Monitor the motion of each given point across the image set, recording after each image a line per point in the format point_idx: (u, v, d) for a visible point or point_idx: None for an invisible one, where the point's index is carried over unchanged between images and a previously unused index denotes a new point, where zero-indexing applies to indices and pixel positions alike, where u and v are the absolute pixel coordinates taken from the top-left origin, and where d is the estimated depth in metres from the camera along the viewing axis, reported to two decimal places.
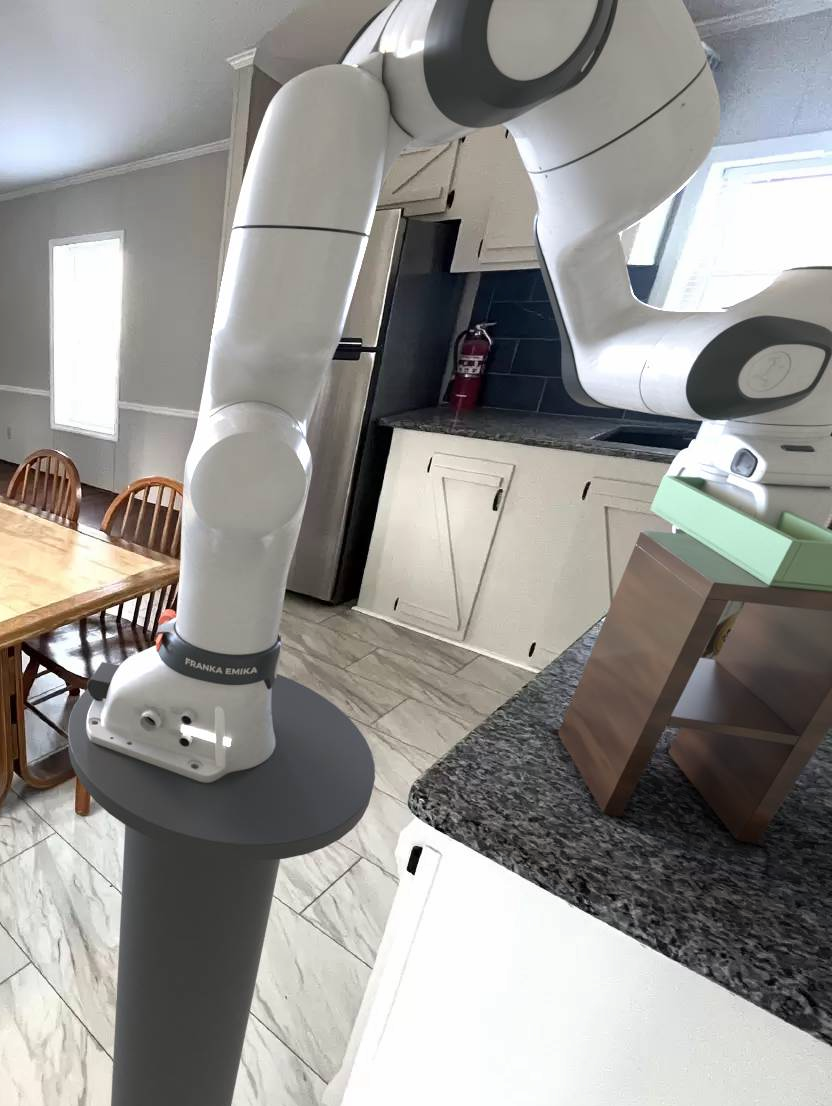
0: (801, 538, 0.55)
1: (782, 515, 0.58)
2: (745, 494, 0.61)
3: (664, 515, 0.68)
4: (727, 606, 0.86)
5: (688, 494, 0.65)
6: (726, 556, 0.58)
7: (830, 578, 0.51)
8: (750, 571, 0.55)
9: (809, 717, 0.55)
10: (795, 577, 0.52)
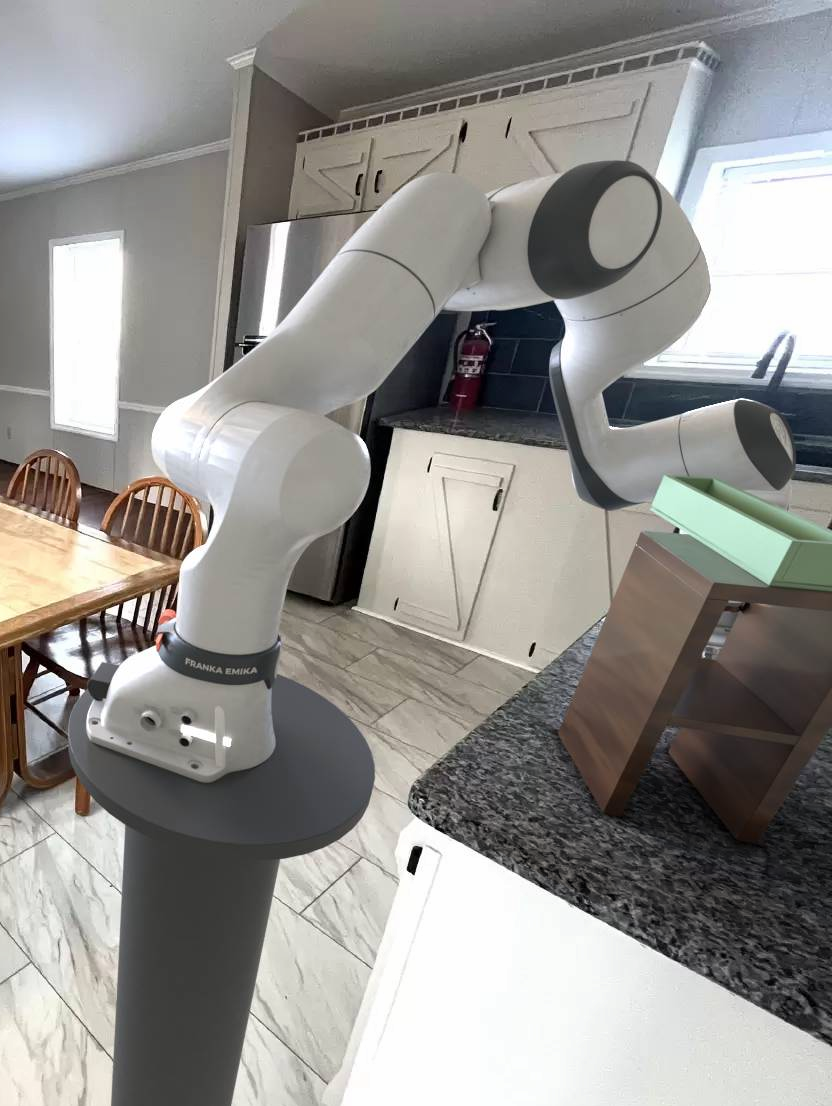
0: (801, 538, 0.55)
1: (782, 515, 0.58)
2: None
3: (664, 515, 0.68)
4: None
5: (688, 494, 0.65)
6: (726, 556, 0.58)
7: (830, 578, 0.51)
8: (750, 571, 0.55)
9: (809, 717, 0.55)
10: (795, 577, 0.52)
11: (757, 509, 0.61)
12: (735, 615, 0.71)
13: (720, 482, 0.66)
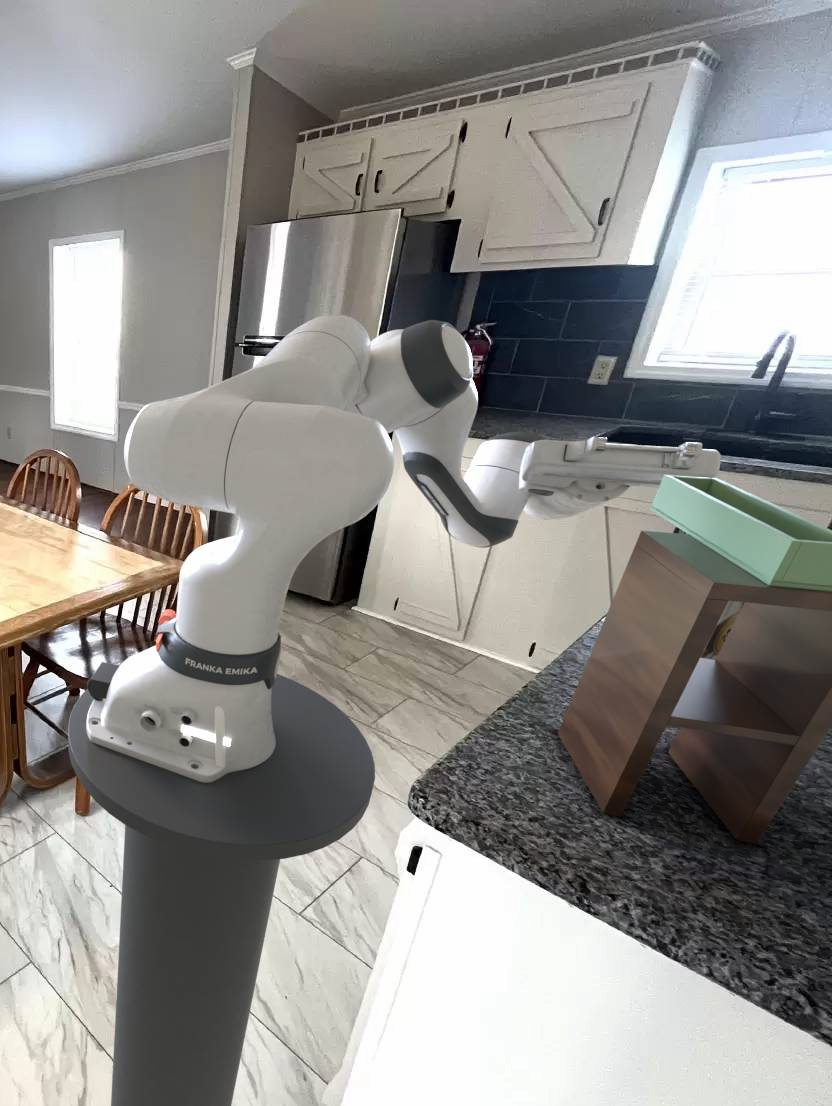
0: (801, 538, 0.55)
1: (782, 515, 0.58)
2: (555, 477, 0.91)
3: (664, 515, 0.68)
4: (727, 606, 0.86)
5: (688, 494, 0.65)
6: (726, 556, 0.58)
7: (830, 578, 0.51)
8: (750, 571, 0.55)
9: (809, 717, 0.55)
10: (795, 577, 0.52)
11: (757, 509, 0.61)
12: (646, 452, 0.83)
13: (720, 482, 0.66)
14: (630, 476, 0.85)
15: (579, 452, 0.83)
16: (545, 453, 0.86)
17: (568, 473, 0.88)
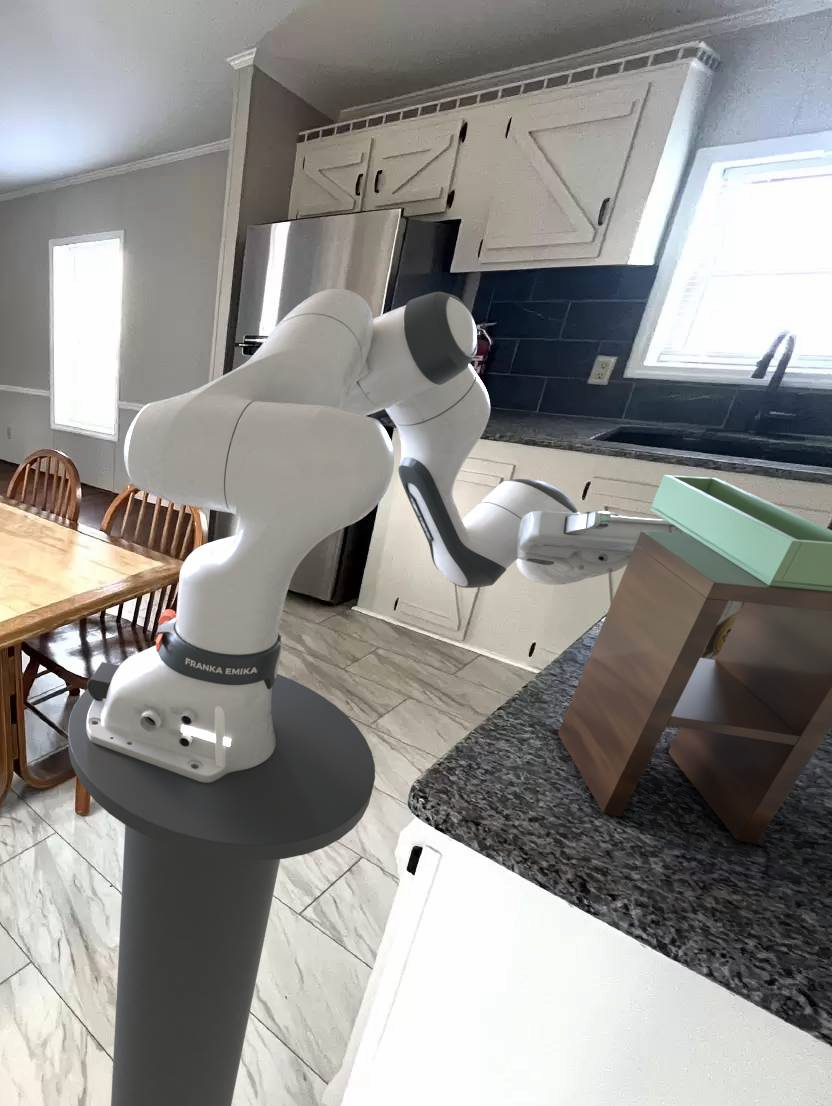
0: (801, 538, 0.55)
1: (782, 515, 0.58)
2: (555, 548, 0.86)
3: (664, 515, 0.68)
4: (727, 606, 0.86)
5: (688, 494, 0.65)
6: (726, 556, 0.58)
7: (830, 578, 0.51)
8: (750, 571, 0.55)
9: (809, 717, 0.55)
10: (795, 577, 0.52)
11: (757, 509, 0.61)
12: (651, 525, 0.79)
13: (720, 482, 0.66)
14: None
15: (581, 526, 0.78)
16: (544, 525, 0.82)
17: (569, 544, 0.83)
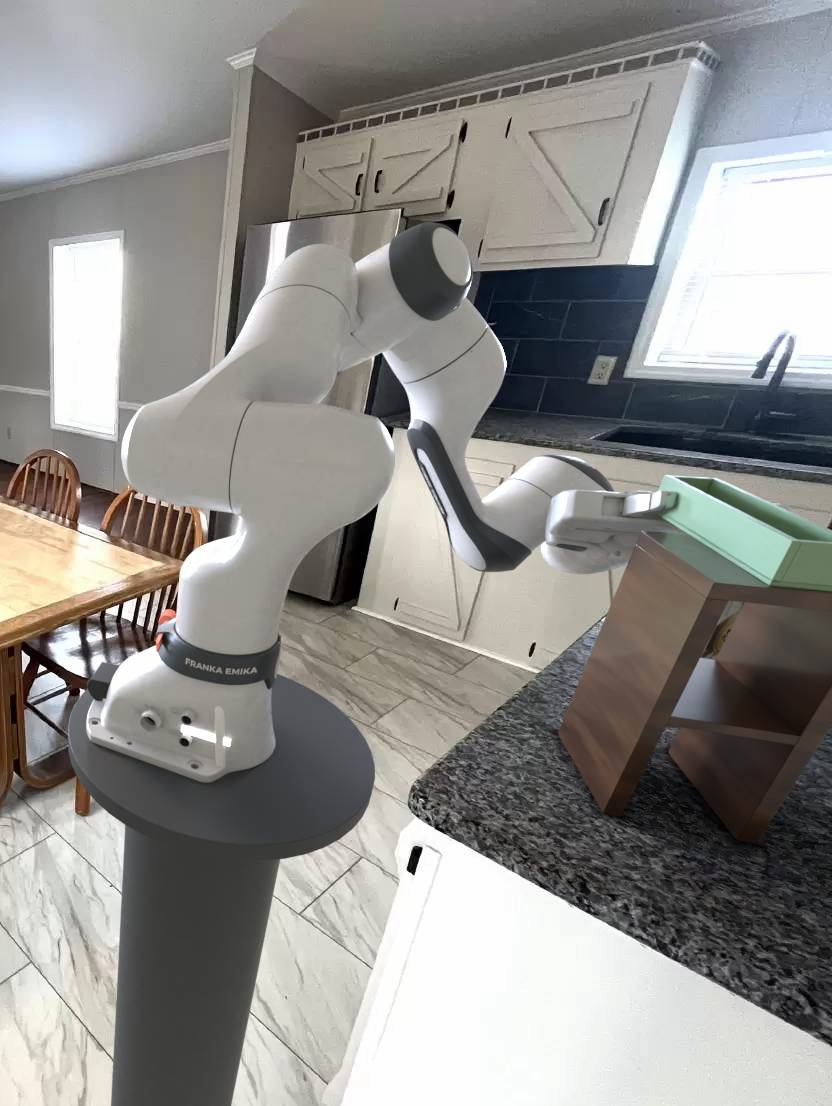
0: (801, 538, 0.55)
1: (782, 515, 0.58)
2: (590, 532, 0.77)
3: (664, 515, 0.68)
4: (727, 606, 0.86)
5: (688, 494, 0.65)
6: (726, 556, 0.58)
7: (830, 578, 0.51)
8: (750, 571, 0.55)
9: (809, 717, 0.55)
10: (795, 577, 0.52)
11: (757, 509, 0.61)
12: None
13: (721, 482, 0.66)
14: (681, 533, 0.72)
15: (643, 508, 0.69)
16: (579, 505, 0.73)
17: (605, 528, 0.75)
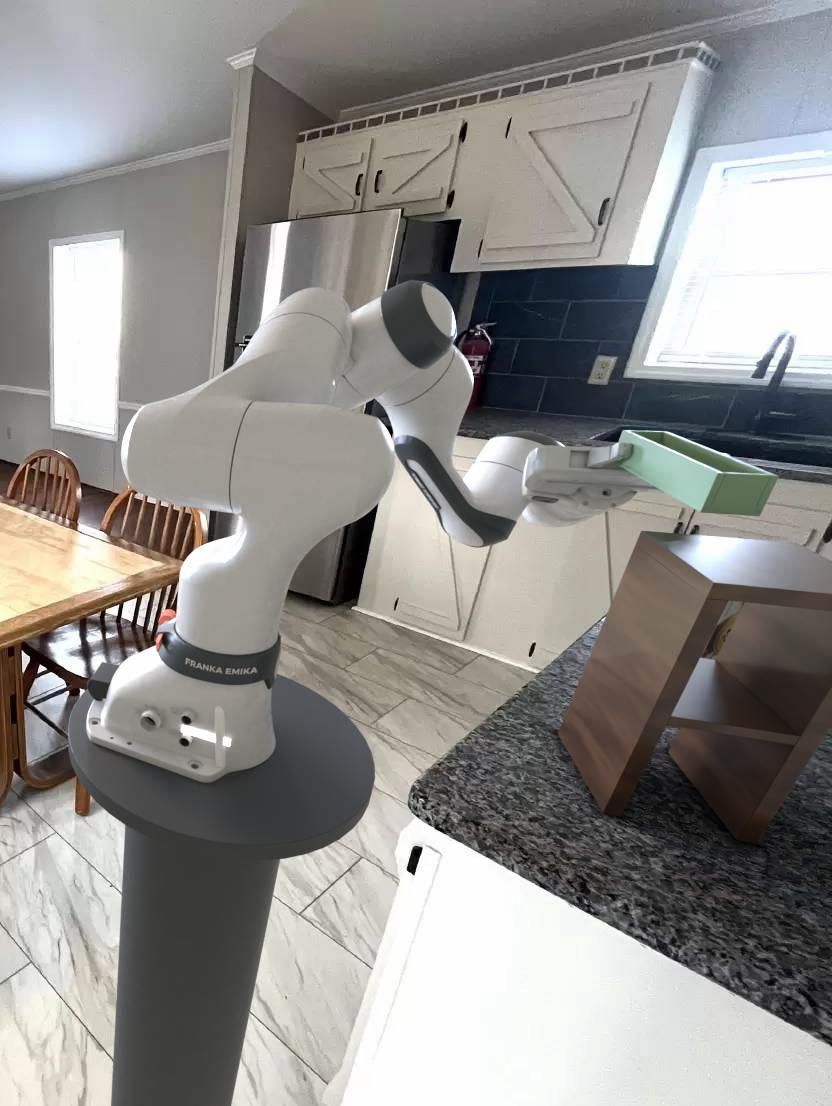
0: None
1: (716, 457, 0.68)
2: (560, 484, 0.87)
3: (622, 464, 0.78)
4: (727, 606, 0.86)
5: (641, 444, 0.75)
6: (669, 493, 0.68)
7: (749, 504, 0.61)
8: (686, 502, 0.65)
9: (809, 717, 0.55)
10: (721, 504, 0.62)
11: (698, 454, 0.71)
12: None
13: (670, 434, 0.76)
14: (638, 482, 0.82)
15: (604, 458, 0.79)
16: (549, 459, 0.83)
17: (573, 479, 0.85)
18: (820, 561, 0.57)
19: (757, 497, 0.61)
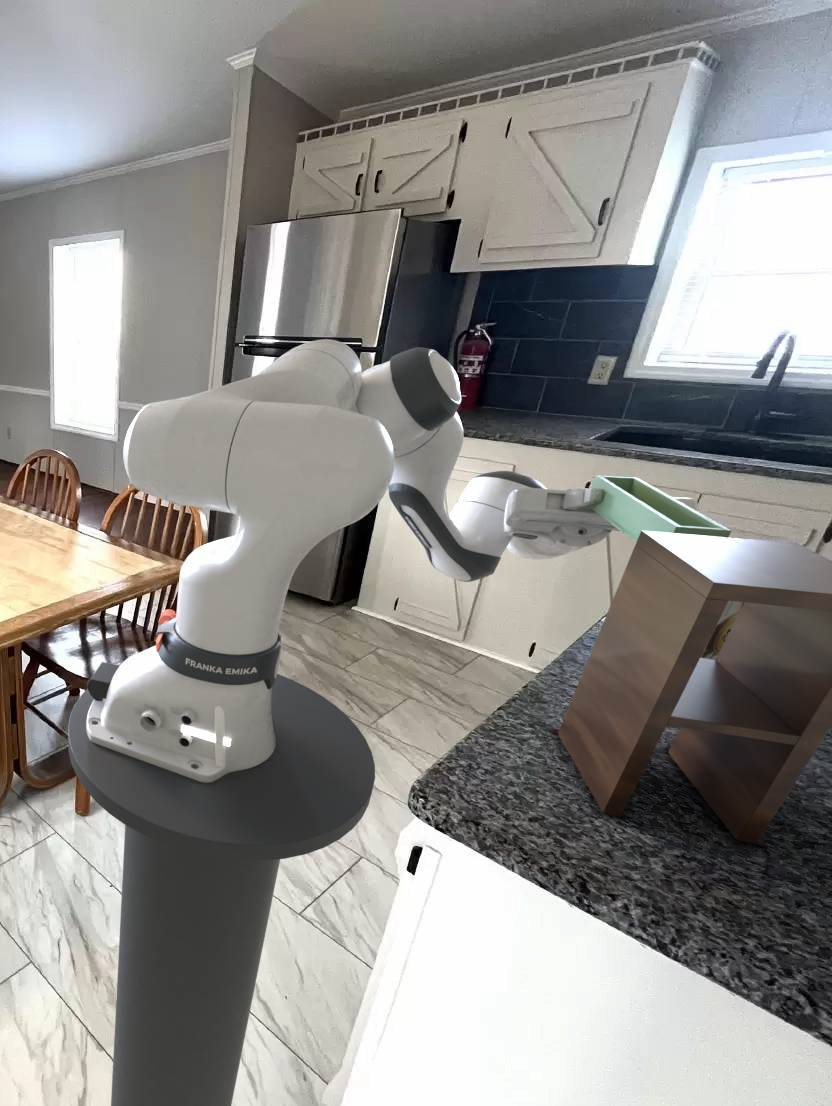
0: (689, 525, 0.70)
1: (678, 507, 0.73)
2: (539, 523, 0.92)
3: (595, 508, 0.83)
4: (727, 606, 0.86)
5: (611, 490, 0.80)
6: (635, 540, 0.73)
7: None
8: None
9: (809, 717, 0.55)
10: None
11: (662, 502, 0.76)
12: None
13: (639, 481, 0.82)
14: None
15: (578, 502, 0.84)
16: (527, 500, 0.88)
17: (551, 519, 0.90)
18: (820, 561, 0.57)
19: None
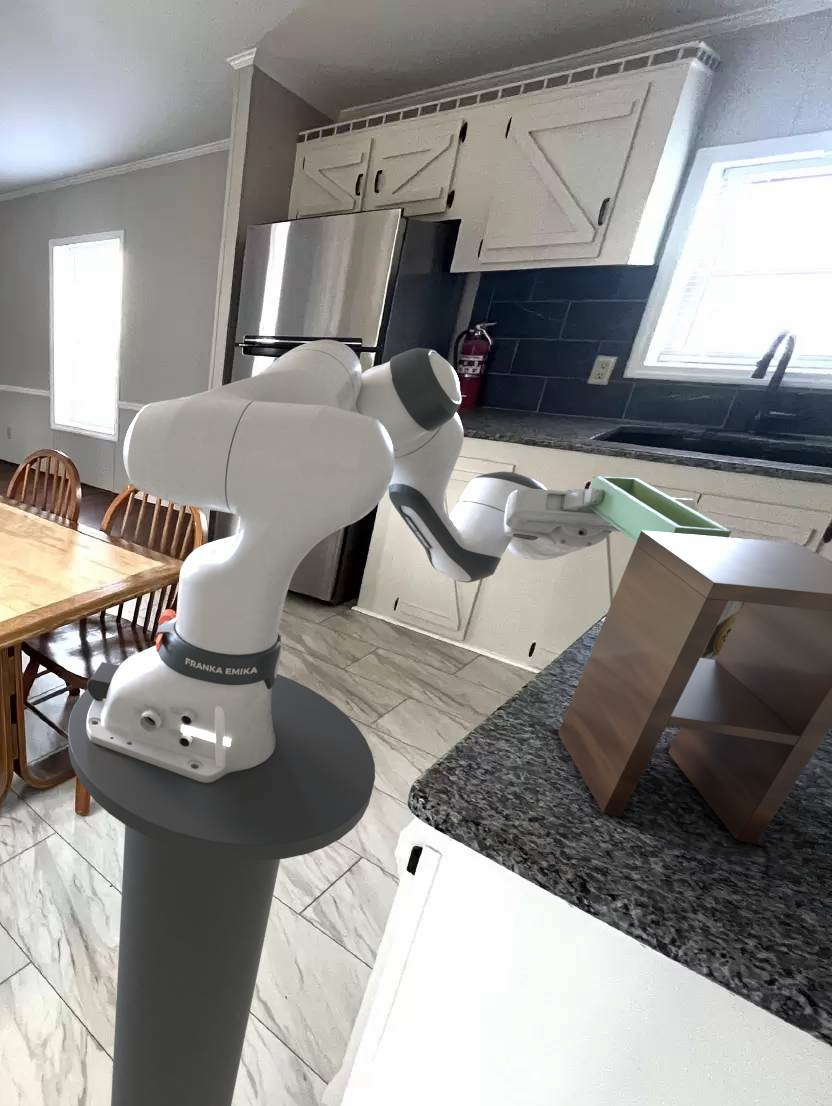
0: (690, 525, 0.70)
1: (678, 508, 0.73)
2: (539, 523, 0.92)
3: (595, 509, 0.83)
4: (727, 606, 0.86)
5: (611, 491, 0.80)
6: (635, 540, 0.73)
7: None
8: None
9: (809, 717, 0.55)
10: None
11: (662, 503, 0.76)
12: None
13: (639, 482, 0.82)
14: None
15: (578, 503, 0.84)
16: (527, 501, 0.88)
17: (551, 520, 0.90)
18: (820, 561, 0.57)
19: None
